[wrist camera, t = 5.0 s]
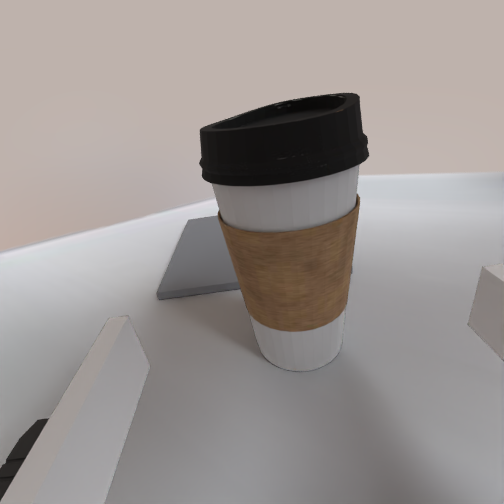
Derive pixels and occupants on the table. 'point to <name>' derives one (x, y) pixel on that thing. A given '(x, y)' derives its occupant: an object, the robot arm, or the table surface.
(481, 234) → the table surface
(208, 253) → the mat
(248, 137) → the coffee cup
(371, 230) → the table surface
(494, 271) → the robot arm
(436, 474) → the table surface
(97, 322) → the table surface
